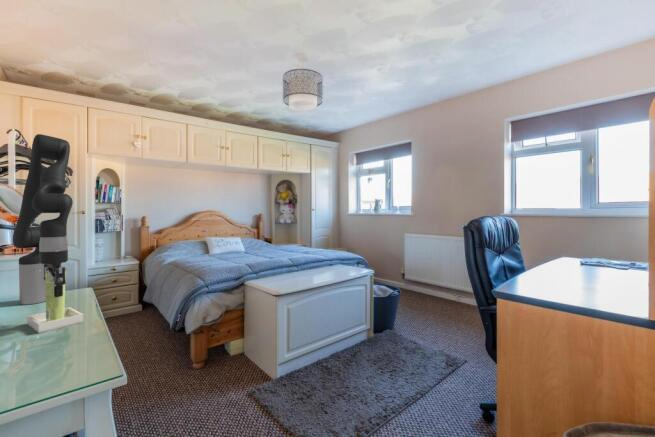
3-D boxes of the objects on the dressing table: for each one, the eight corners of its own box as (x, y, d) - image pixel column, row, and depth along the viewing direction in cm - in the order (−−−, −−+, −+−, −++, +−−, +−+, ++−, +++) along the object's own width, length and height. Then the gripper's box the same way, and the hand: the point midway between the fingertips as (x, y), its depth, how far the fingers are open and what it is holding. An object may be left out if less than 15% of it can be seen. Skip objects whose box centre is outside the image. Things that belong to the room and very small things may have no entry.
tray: (27, 324, 108) (27, 316, 108) (70, 314, 118) (69, 307, 117) (38, 333, 100) (38, 324, 100) (83, 322, 110) (83, 314, 110)
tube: (66, 317, 113) (66, 265, 112) (67, 321, 109) (66, 267, 108) (45, 321, 109) (45, 267, 108) (45, 325, 105) (44, 269, 105)
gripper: (33, 248, 109) (34, 293, 109) (45, 252, 101) (46, 300, 101) (60, 246, 115) (61, 289, 115) (74, 249, 107) (74, 295, 107)
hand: (54, 294), depth 108 cm, fingers open, 8 cm apart
